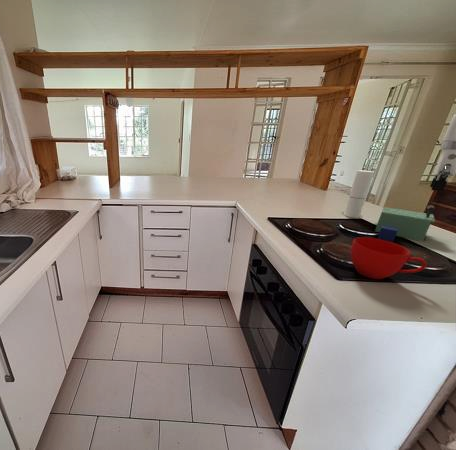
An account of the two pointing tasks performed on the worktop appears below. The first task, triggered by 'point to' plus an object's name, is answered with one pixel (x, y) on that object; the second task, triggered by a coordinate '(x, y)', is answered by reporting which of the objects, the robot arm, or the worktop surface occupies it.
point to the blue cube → (387, 233)
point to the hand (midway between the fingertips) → (435, 189)
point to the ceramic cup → (380, 258)
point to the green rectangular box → (404, 226)
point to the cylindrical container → (358, 193)
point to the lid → (411, 213)
